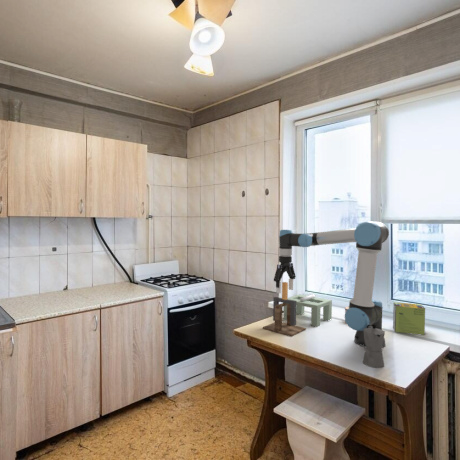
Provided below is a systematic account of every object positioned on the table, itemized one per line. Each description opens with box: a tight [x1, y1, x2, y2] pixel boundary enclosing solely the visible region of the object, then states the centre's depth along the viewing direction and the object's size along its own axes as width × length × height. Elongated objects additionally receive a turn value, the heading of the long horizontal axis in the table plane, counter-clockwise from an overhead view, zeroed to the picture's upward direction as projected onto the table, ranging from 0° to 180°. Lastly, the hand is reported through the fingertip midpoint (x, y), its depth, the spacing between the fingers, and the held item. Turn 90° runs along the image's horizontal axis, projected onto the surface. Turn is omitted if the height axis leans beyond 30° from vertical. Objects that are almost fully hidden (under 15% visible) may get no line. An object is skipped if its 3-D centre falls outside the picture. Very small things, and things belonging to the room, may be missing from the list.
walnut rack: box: [262, 302, 307, 338], centre depth 196 cm, size 16×20×16 cm
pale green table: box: [283, 293, 333, 328], centre depth 217 cm, size 20×24×15 cm
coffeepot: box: [362, 324, 386, 369], centre depth 151 cm, size 15×9×18 cm, turn 174°
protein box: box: [392, 302, 426, 336], centre depth 196 cm, size 10×15×16 cm
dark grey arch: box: [272, 281, 297, 326], centre depth 196 cm, size 2×14×24 cm, turn 48°
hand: (284, 291), depth 196 cm, fingers open, 13 cm apart
